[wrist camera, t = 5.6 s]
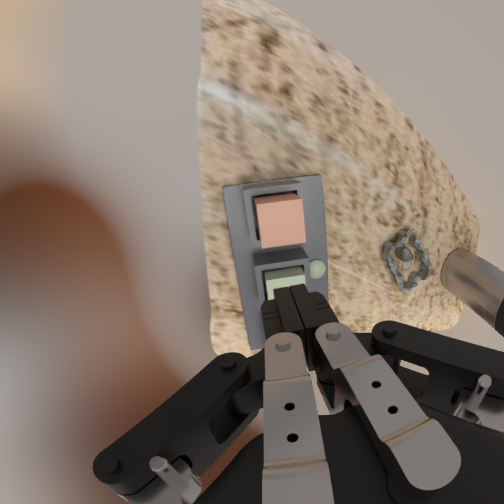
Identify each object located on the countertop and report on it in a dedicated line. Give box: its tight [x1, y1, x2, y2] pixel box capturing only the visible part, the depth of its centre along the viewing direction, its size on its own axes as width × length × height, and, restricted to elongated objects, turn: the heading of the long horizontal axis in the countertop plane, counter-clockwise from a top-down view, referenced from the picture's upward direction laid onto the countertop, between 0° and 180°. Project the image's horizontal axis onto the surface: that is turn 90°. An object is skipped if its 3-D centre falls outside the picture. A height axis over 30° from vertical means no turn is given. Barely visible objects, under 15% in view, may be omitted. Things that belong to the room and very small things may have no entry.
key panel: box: [223, 174, 328, 350], centre depth 40 cm, size 14×28×6 cm, turn 8°
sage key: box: [263, 265, 306, 300], centre depth 38 cm, size 5×5×6 cm
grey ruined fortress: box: [381, 229, 434, 293], centre depth 42 cm, size 11×8×4 cm
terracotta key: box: [254, 192, 306, 249], centre depth 33 cm, size 5×5×6 cm
